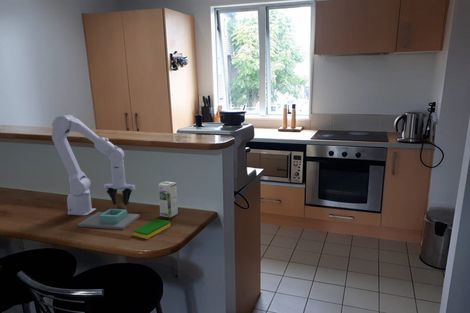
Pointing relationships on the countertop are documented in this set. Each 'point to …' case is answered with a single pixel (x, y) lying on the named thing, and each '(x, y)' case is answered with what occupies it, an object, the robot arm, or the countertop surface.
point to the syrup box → (168, 199)
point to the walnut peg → (120, 201)
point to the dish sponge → (151, 228)
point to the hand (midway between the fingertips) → (120, 204)
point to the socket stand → (110, 219)
